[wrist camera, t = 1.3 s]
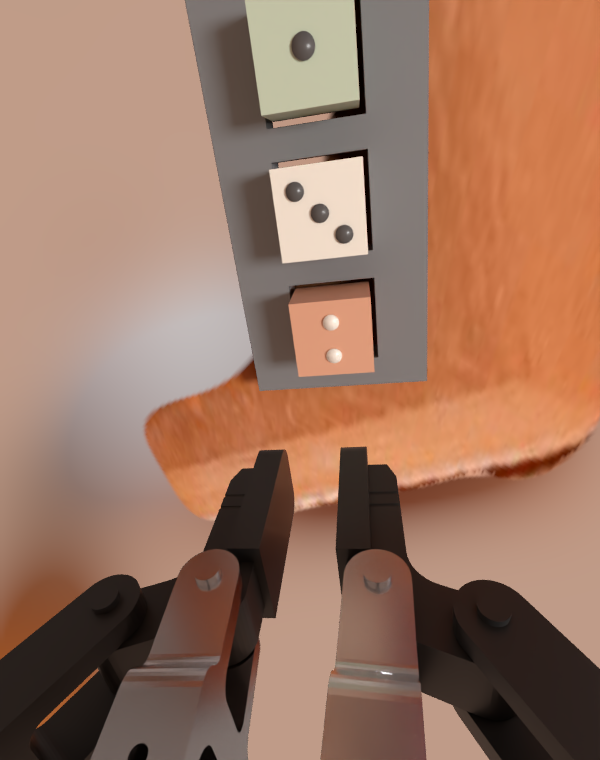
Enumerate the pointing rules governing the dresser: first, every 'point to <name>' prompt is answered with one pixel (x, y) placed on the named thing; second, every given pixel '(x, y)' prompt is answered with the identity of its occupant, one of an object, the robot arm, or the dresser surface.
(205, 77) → the button panel
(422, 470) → the dresser surface
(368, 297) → the terracotta button
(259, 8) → the sage button
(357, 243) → the cream button
